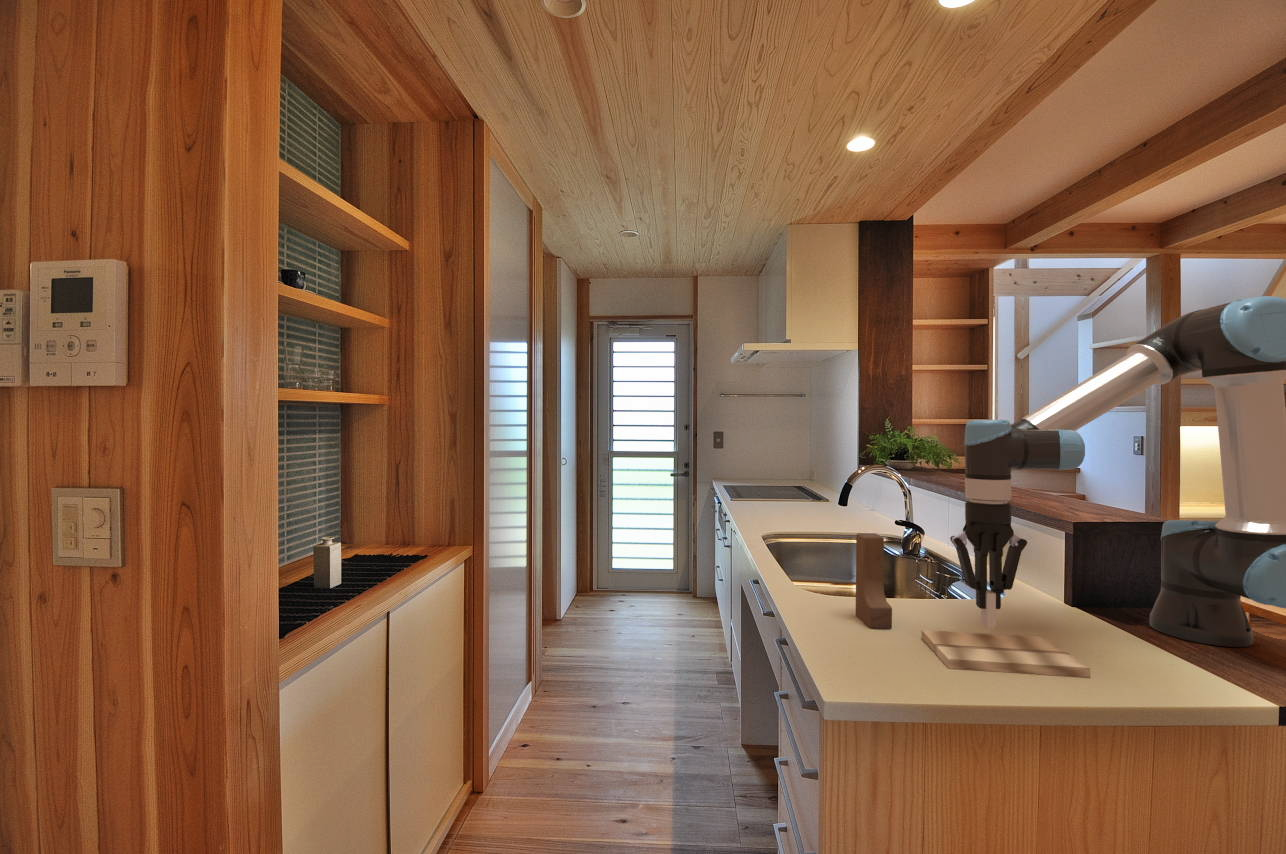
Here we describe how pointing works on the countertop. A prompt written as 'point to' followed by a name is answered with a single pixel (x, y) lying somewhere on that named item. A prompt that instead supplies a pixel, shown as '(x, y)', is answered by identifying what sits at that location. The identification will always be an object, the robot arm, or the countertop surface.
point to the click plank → (988, 641)
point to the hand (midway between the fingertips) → (988, 625)
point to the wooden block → (871, 582)
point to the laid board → (1011, 660)
